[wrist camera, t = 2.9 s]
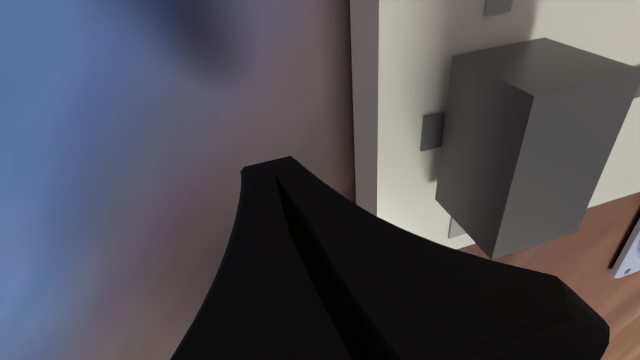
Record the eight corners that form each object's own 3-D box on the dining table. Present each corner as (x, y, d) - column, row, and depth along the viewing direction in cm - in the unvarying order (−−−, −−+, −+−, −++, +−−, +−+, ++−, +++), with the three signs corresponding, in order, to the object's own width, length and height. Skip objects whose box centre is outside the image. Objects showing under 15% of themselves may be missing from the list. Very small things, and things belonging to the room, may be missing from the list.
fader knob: (544, 37, 11) (645, 70, 9) (508, 178, 14) (577, 231, 12) (452, 55, 10) (534, 96, 8) (435, 199, 13) (491, 260, 11)
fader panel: (864, -147, 14) (956, -155, 12) (699, 141, 21) (744, 160, 19) (346, -94, 10) (381, -96, 8) (357, 241, 17) (377, 276, 15)
